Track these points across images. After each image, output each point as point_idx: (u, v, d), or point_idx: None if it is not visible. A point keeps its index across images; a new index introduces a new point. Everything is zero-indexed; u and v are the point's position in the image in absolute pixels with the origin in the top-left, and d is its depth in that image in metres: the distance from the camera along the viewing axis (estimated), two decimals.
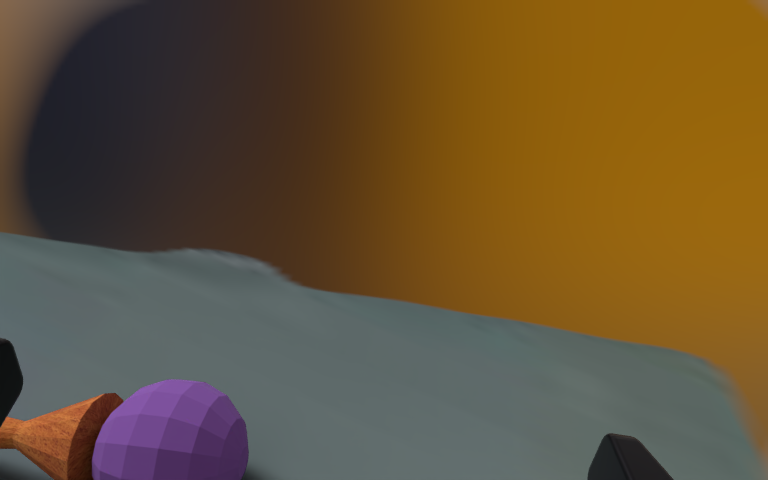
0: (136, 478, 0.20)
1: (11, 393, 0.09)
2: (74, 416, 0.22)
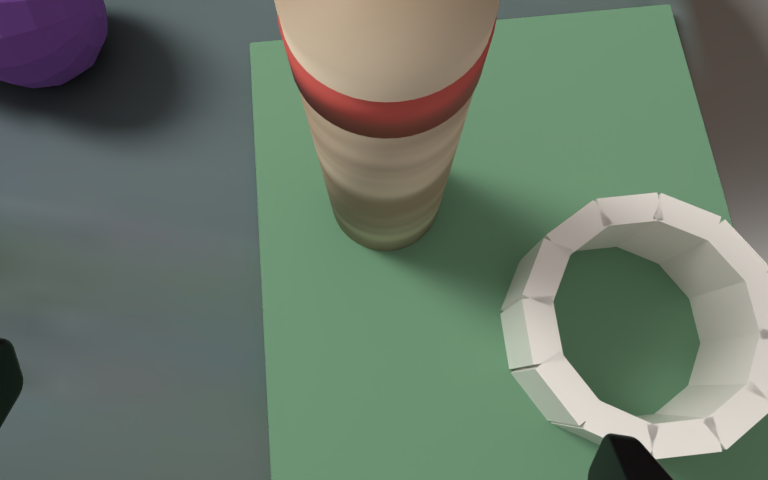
0: None
1: (11, 393, 0.09)
2: None
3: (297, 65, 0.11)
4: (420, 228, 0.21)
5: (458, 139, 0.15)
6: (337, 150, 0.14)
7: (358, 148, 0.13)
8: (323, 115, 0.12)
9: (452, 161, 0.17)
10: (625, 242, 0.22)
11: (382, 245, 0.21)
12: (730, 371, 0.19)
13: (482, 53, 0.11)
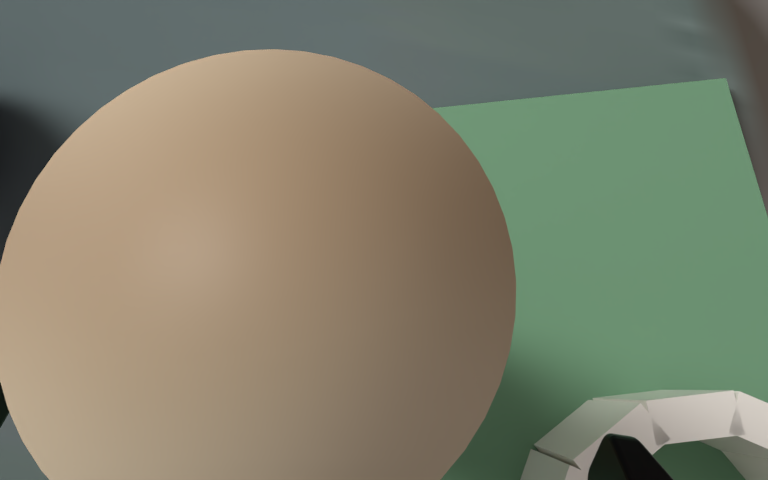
0: None
1: None
2: None
3: None
4: None
5: None
6: None
7: None
8: None
9: None
10: None
11: None
12: None
13: None
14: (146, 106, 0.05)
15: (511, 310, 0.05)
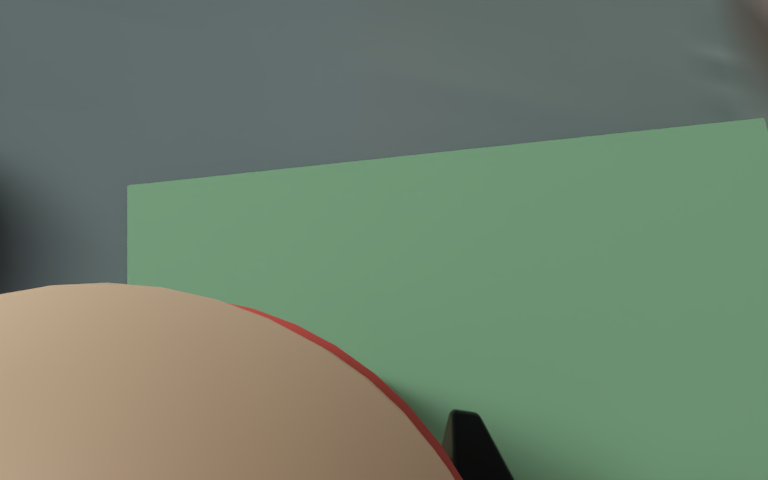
0: None
1: None
2: None
3: None
4: None
5: None
6: None
7: None
8: None
9: None
10: None
11: None
12: None
13: None
14: None
15: None
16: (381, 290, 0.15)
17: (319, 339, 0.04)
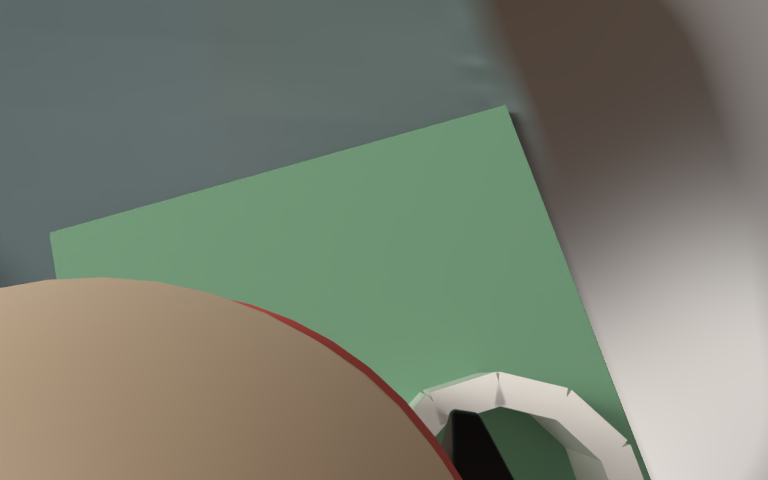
0: None
1: None
2: None
3: None
4: None
5: None
6: None
7: None
8: None
9: None
10: None
11: None
12: None
13: None
14: None
15: None
16: (246, 275, 0.21)
17: (315, 334, 0.04)
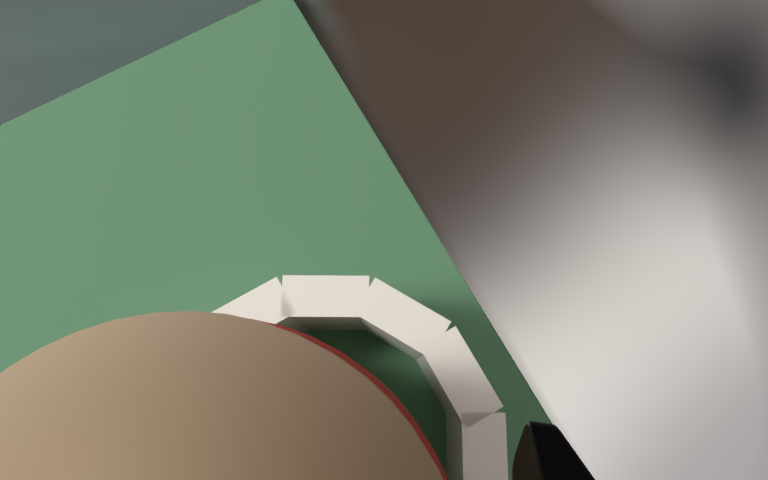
0: None
1: None
2: None
3: None
4: None
5: None
6: None
7: None
8: None
9: None
10: (306, 327, 0.16)
11: None
12: (457, 473, 0.13)
13: None
14: (28, 391, 0.04)
15: None
16: (0, 246, 0.17)
17: (330, 348, 0.05)
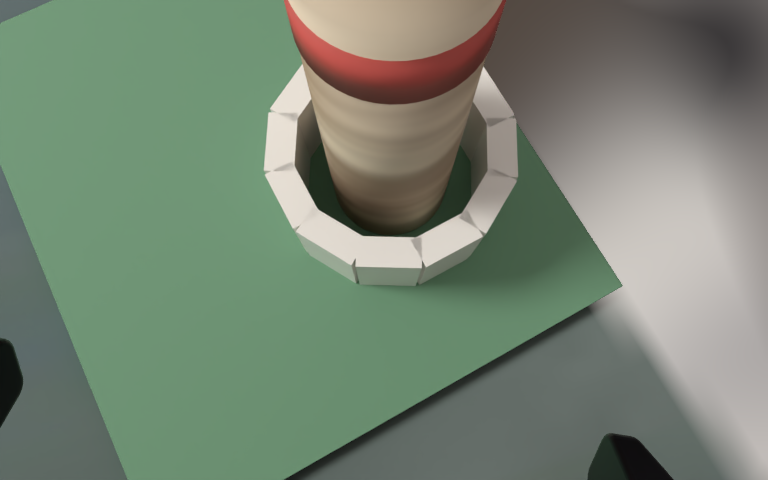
0: None
1: (11, 393, 0.09)
2: None
3: (297, 21, 0.10)
4: (425, 211, 0.20)
5: (467, 113, 0.15)
6: (339, 119, 0.13)
7: (361, 116, 0.12)
8: (325, 78, 0.12)
9: (460, 138, 0.16)
10: None
11: (386, 229, 0.21)
12: (481, 169, 0.20)
13: (496, 11, 0.10)
14: None
15: None
16: (142, 46, 0.23)
17: None
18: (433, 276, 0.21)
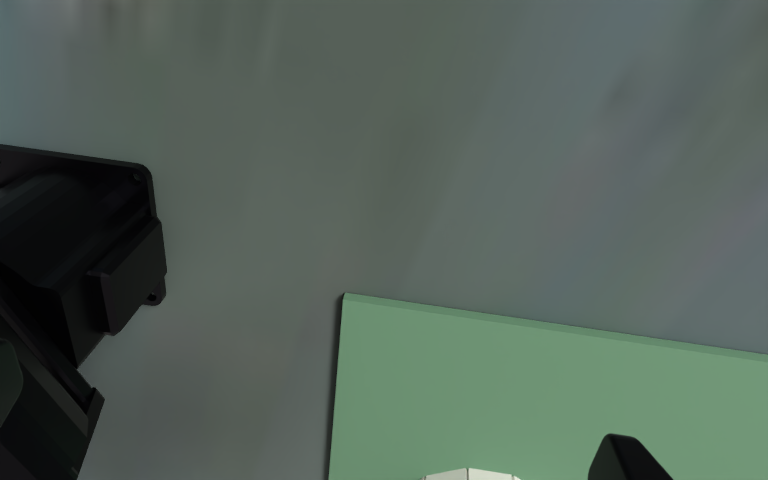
0: None
1: (11, 393, 0.09)
2: None
3: None
4: None
5: None
6: None
7: None
8: None
9: None
10: None
11: None
12: None
13: None
14: None
15: None
16: (717, 476, 0.26)
17: None
18: None
